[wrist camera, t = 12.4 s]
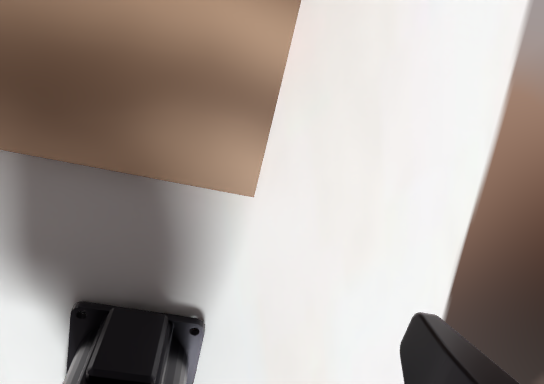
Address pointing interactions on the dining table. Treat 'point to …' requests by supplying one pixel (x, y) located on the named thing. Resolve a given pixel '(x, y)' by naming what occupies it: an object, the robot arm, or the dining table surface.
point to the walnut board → (145, 85)
